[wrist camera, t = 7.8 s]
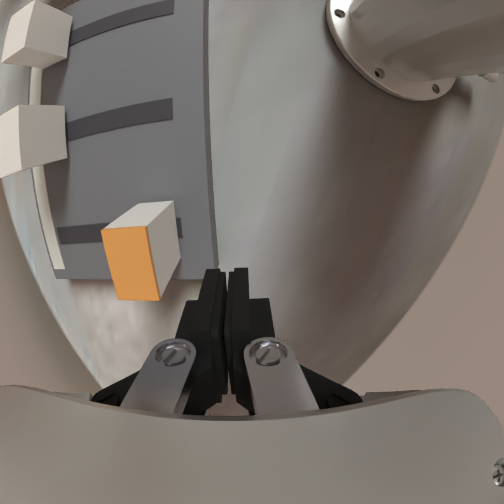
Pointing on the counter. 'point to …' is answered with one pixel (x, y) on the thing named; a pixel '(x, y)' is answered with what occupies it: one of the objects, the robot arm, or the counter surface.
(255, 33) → the counter surface
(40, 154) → the handle mid
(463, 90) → the counter surface
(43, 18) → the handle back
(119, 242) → the handle
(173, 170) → the panel
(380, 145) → the counter surface
